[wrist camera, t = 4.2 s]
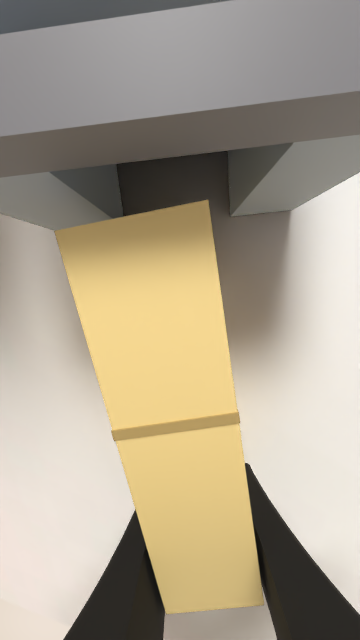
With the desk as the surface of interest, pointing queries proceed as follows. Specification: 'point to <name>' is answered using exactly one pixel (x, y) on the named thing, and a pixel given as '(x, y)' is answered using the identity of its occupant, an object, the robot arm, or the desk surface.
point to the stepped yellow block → (170, 397)
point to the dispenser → (174, 99)
